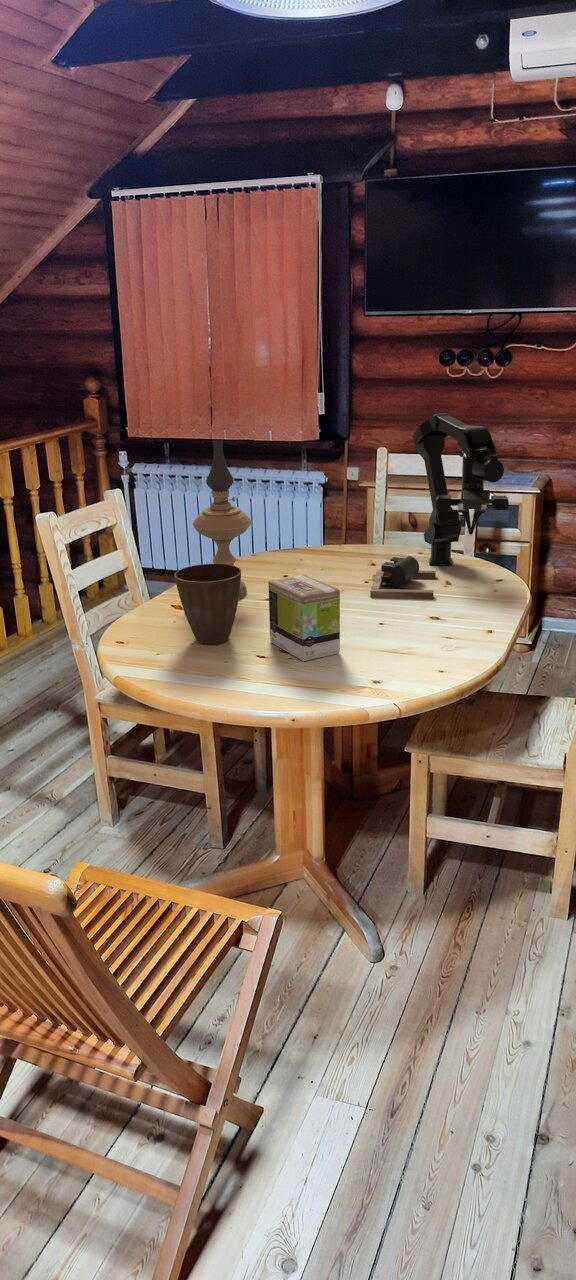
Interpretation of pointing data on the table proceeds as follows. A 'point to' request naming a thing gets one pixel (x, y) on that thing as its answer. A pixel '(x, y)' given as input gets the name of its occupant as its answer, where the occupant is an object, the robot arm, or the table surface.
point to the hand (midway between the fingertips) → (470, 534)
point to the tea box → (304, 617)
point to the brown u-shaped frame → (397, 593)
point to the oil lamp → (222, 512)
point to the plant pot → (209, 599)
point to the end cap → (399, 571)
